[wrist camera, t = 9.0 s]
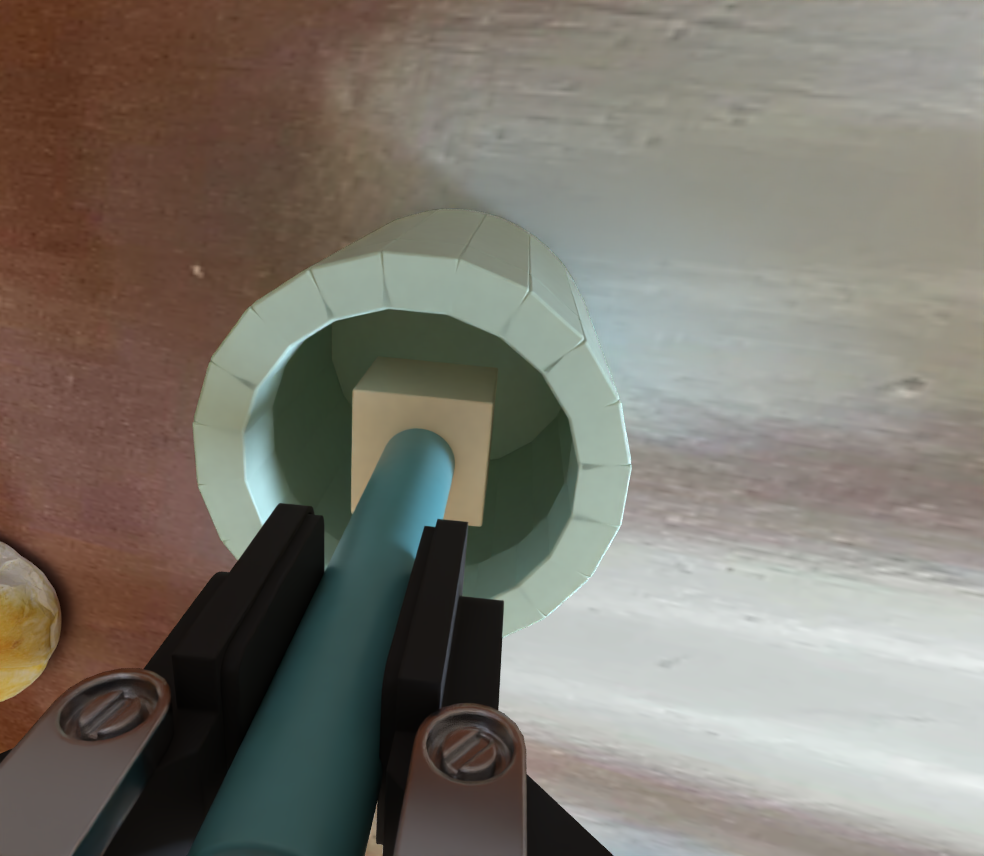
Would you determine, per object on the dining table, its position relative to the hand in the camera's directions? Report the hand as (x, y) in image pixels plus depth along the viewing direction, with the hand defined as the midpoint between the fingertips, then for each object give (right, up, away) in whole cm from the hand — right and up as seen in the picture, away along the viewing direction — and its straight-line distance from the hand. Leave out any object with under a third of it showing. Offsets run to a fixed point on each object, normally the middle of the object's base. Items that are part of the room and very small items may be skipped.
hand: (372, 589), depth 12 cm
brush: (0, +3, +8) cm, 9 cm away
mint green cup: (+1, +6, +14) cm, 15 cm away
